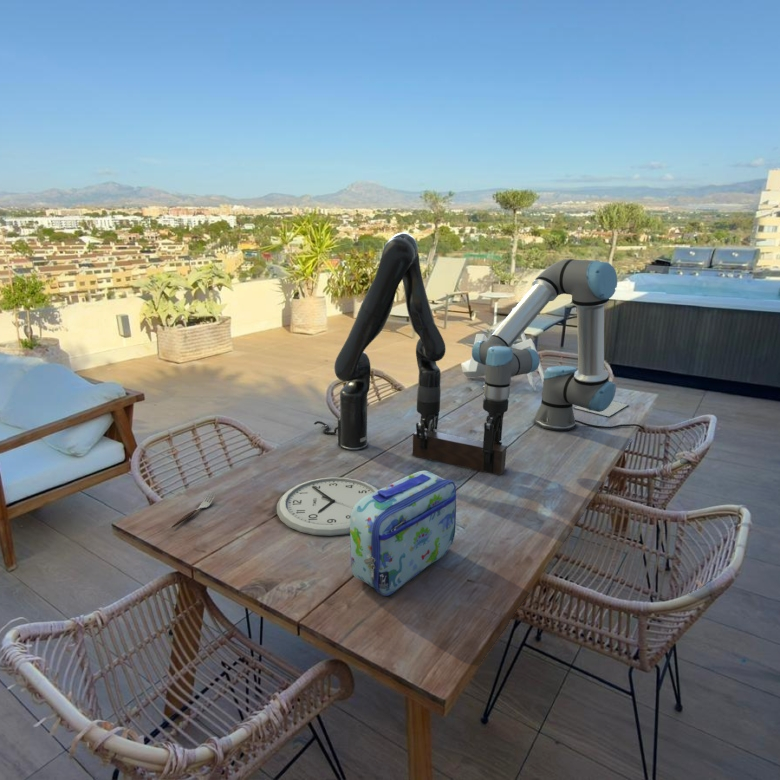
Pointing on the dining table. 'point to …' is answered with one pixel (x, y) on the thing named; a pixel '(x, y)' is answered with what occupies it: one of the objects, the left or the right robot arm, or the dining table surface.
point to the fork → (203, 505)
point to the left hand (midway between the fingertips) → (426, 446)
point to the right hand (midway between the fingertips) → (490, 467)
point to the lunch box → (402, 530)
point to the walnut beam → (459, 451)
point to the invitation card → (607, 409)
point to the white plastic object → (478, 369)
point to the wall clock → (322, 505)
